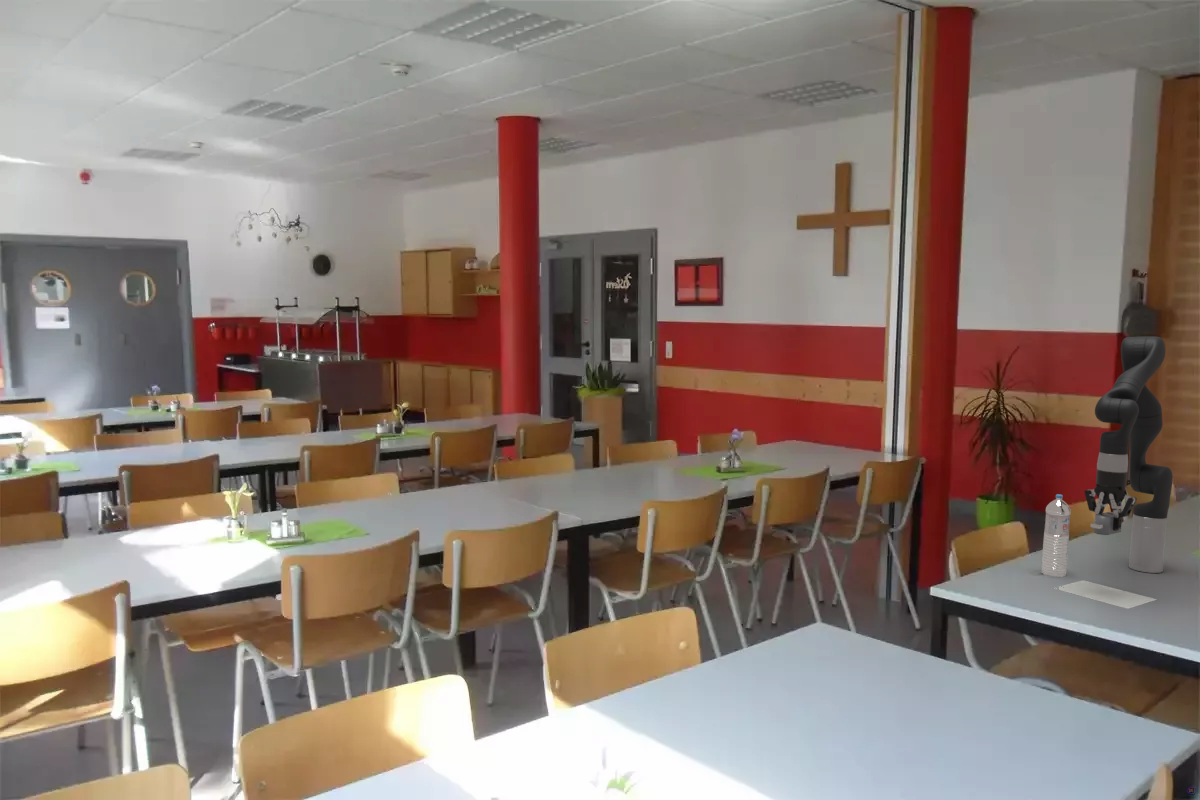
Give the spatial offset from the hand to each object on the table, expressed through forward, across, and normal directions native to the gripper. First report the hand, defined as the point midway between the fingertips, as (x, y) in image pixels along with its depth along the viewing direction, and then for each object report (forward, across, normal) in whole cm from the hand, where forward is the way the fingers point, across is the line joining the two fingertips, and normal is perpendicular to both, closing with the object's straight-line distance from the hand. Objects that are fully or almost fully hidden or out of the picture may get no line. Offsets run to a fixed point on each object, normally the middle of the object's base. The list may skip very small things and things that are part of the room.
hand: (1107, 528), depth 261 cm
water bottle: (+19, +18, -6) cm, 27 cm away
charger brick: (+1, 0, 0) cm, 1 cm away
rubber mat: (+19, -1, +1) cm, 19 cm away
